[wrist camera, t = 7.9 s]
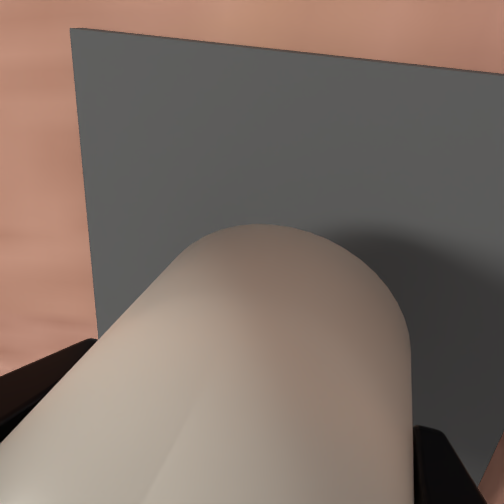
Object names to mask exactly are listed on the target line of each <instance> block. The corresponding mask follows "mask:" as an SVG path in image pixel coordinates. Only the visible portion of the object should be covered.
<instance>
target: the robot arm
mask: <svg viewBox="0 0 504 504" xmlns="http://www.w3.org/2000/svg"><path fill="white" fill-rule="evenodd" d="M97 341H98V340H97V339H92V338H90V339H86V340H83V341H81V342H79V343H76V344H74V345H72V346H70V347H67V348H65V349H63V350H60V351H58V352H56V353H53V354H51V355H49V356H46V357H44V358H42V359H40V360H37V361H35V362H33V363H30V364H28V365H26V366H23V367H21V368H19V369H16V370H14V371H12V372H10V373H7V374H5V375H3V376H0V443H1V442H2V441H3V440H4V439H5V438H6V437H7V436H8V435H9V434H10V433H11V432H12V431H13V430H14V428H15V427H16V426H17V425H18V424H19V423H20V422H21V421H22V420H23V419H24V418H25V417H26V416H27V415H28V414H29V413H30V412H31V411H32V409H33V408H34V407H35V406H36V405H37V404H38V403H39V402H40V401H41V400H42V399H43V398H44V397H45V396H46V395H47V394H48V393H49V391H50V390H51V389H52V388H53V387H54V386H55V385H56V384H57V383H58V382H59V381H60V380H61V379H62V378H63V377H64V376H65V375H66V373H67V372H68V371H69V370H70V369H71V368H72V367H73V366H74V365H75V364H76V363H77V362H78V361H79V360H80V359H81V358H82V357H83V356H84V354H85V353H86V352H87V351H88V350H89V349H90V348H91V347H92V346H93V345H94V344H95V343H96V342H97ZM413 468H414V504H487V502H486V501H485V499H484V498H483V496H482V494H481V493H480V491H479V489H478V488H477V486H476V484H475V483H474V481H473V479H472V478H471V476H470V475H469V473H468V471H467V470H466V468H465V466H464V465H463V463H462V461H461V460H460V458H459V456H458V455H457V453H456V452H455V450H454V448H453V447H452V445H451V443H450V442H449V440H448V438H447V437H446V435H445V434H444V433H443V432H442V431H440V430H437V429H434V428H430V427H426V426H422V425H415V426H414V427H413Z"/></svg>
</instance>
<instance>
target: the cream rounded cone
mask: <svg viewBox="0 0 504 504" xmlns="http://www.w3.org/2000/svg"><path fill="white" fill-rule="evenodd" d="M0 504H414V468H413V424H412V380H411V347H410V338H409V332H408V329H407V325H406V322H405V318H404V316H403V314H402V312H401V309H400V307H399V305H398V303H397V301H396V300H395V298H394V296H393V295H392V293H391V292H390V290H389V289H388V287H387V286H386V285H385V284H384V282H383V281H382V280H381V279H380V278H379V277H378V275H377V274H376V273H375V272H374V271H373V270H372V269H370V268H369V267H368V266H367V265H366V264H365V263H364V262H363V261H362V260H360V259H359V258H358V257H356V256H355V255H353V254H352V253H350V252H349V251H348V250H346V249H345V248H343V247H341V246H339V245H337V244H335V243H334V242H332V241H330V240H328V239H326V238H323V237H320V236H318V235H315V234H313V233H310V232H307V231H303V230H300V229H296V228H292V227H286V226H279V225H272V224H250V225H241V226H234V227H230V228H226V229H222V230H219V231H216V232H214V233H211V234H209V235H206V236H204V237H202V238H201V239H199V240H197V241H196V242H194V243H192V244H191V245H190V246H188V247H187V248H186V249H185V250H184V251H182V252H181V253H180V254H179V255H178V256H177V257H176V258H175V259H174V260H173V261H172V262H171V264H170V265H169V266H168V267H167V268H166V269H165V270H164V271H163V272H162V273H161V274H160V275H159V276H158V277H157V278H156V279H155V280H154V281H153V283H152V284H151V285H150V286H149V287H148V288H147V289H146V290H145V291H144V292H143V293H142V294H141V295H140V296H139V297H138V298H137V299H136V301H135V302H134V303H133V304H132V305H131V306H130V307H129V308H128V309H127V310H126V311H125V312H124V313H123V314H122V315H121V316H120V317H119V319H118V320H117V321H116V322H115V323H114V324H113V325H112V326H111V327H110V328H109V329H108V330H107V331H106V332H105V333H104V334H103V335H102V336H101V338H100V339H99V340H98V341H97V342H96V343H95V344H94V345H93V346H92V347H91V348H90V349H89V350H88V351H87V352H86V353H85V354H84V356H83V357H82V358H81V359H80V360H79V361H78V362H77V363H76V364H75V365H74V366H73V367H72V368H71V369H70V370H69V371H68V372H67V373H66V375H65V376H64V377H63V378H62V379H61V380H60V381H59V382H58V383H57V384H56V385H55V386H54V387H53V388H52V389H51V390H50V391H49V393H48V394H47V395H46V396H45V397H44V398H43V399H42V400H41V401H40V402H39V403H38V404H37V405H36V406H35V407H34V408H33V409H32V411H31V412H30V413H29V414H28V415H27V416H26V417H25V418H24V419H23V420H22V421H21V422H20V423H19V424H18V425H17V426H16V427H15V428H14V430H13V431H12V432H11V433H10V434H9V435H8V436H7V437H6V438H5V439H4V440H3V441H2V442H1V443H0Z"/></svg>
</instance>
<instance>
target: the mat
mask: <svg viewBox="0 0 504 504" xmlns="http://www.w3.org/2000/svg"><path fill="white" fill-rule="evenodd" d="M70 38H71V48H72V59H73V70H74V81H75V91H76V102H77V113H78V124H79V134H80V145H81V156H82V167H83V177H84V188H85V199H86V210H87V221H88V231H89V242H90V253H91V264H92V274H93V285H94V296H95V307H96V317H97V328H98V339H100V338H101V336H102V335H103V334H104V333H105V332H106V331H107V330H108V329H109V328H110V327H111V326H112V325H113V324H114V323H115V322H116V321H117V320H118V319H119V317H120V316H121V315H122V314H123V313H124V312H125V311H126V310H127V309H128V308H129V307H130V306H131V305H132V304H133V303H134V302H135V301H136V299H137V298H138V297H139V296H140V295H141V294H142V293H143V292H144V291H145V290H146V289H147V288H148V287H149V286H150V285H151V284H152V283H153V281H154V280H155V279H156V278H157V277H158V276H159V275H160V274H161V273H162V272H163V271H164V270H165V269H166V268H167V267H168V266H169V265H170V264H171V262H172V261H173V260H174V259H175V258H176V257H177V256H178V255H179V254H180V253H181V252H182V251H184V250H185V249H186V248H187V247H188V246H190V245H191V244H192V243H194V242H196V241H197V240H199V239H201V238H202V237H204V236H206V235H209V234H211V233H214V232H216V231H219V230H222V229H226V228H230V227H234V226H241V225H250V224H272V225H279V226H286V227H292V228H296V229H300V230H303V231H307V232H310V233H313V234H315V235H318V236H320V237H323V238H326V239H328V240H330V241H332V242H334V243H335V244H337V245H339V246H341V247H343V248H345V249H346V250H348V251H349V252H350V253H352V254H353V255H355V256H356V257H358V258H359V259H360V260H362V261H363V262H364V263H365V264H366V265H367V266H368V267H369V268H370V269H372V270H373V271H374V272H375V273H376V274H377V275H378V277H379V278H380V279H381V280H382V281H383V282H384V284H385V285H386V286H387V287H388V289H389V290H390V292H391V293H392V295H393V296H394V298H395V300H396V301H397V303H398V305H399V307H400V309H401V312H402V314H403V316H404V318H405V322H406V325H407V329H408V332H409V338H410V347H411V380H412V424H413V427H414V426H415V425H422V426H426V427H430V428H434V429H437V430H440V431H442V432H443V433H444V434H445V435H446V437H447V438H448V440H449V442H450V443H451V445H452V447H453V448H454V450H455V452H456V453H457V455H458V456H459V458H460V460H461V461H462V463H463V465H464V466H465V468H466V470H467V471H468V473H469V475H470V476H471V478H472V479H473V481H474V483H475V484H476V486H477V487H478V485H479V483H480V481H481V479H482V477H483V475H484V472H485V470H486V468H487V466H488V464H489V462H490V460H491V457H492V455H493V453H494V451H495V449H496V447H497V445H498V442H499V440H500V438H501V436H502V434H503V432H504V74H499V73H490V72H481V71H472V70H462V69H453V68H444V67H435V66H426V65H417V64H408V63H398V62H389V61H380V60H371V59H362V58H353V57H344V56H334V55H325V54H316V53H307V52H298V51H289V50H280V49H270V48H261V47H252V46H243V45H234V44H225V43H215V42H206V41H197V40H188V39H179V38H170V37H161V36H151V35H142V34H133V33H124V32H115V31H106V30H97V29H87V28H70Z"/></svg>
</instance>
